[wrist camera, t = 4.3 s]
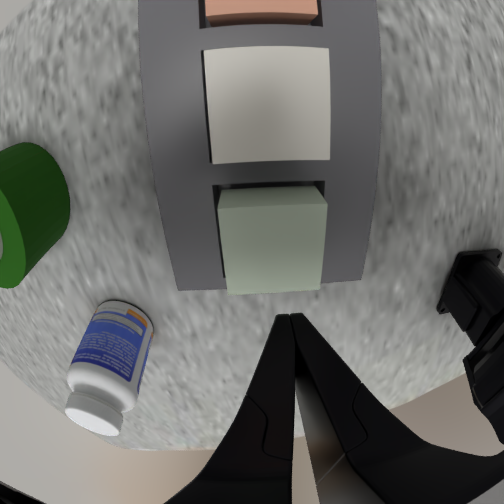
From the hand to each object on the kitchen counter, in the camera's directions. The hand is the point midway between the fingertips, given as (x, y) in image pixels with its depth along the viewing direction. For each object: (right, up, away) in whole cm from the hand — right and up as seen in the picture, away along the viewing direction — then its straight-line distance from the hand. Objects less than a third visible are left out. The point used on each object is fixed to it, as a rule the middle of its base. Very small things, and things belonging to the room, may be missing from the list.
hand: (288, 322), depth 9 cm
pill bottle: (-12, -4, +13) cm, 18 cm away
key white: (-1, +9, +2) cm, 9 cm away
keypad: (-1, +10, +4) cm, 11 cm away
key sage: (0, +4, +6) cm, 7 cm away
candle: (-17, +6, +6) cm, 20 cm away
